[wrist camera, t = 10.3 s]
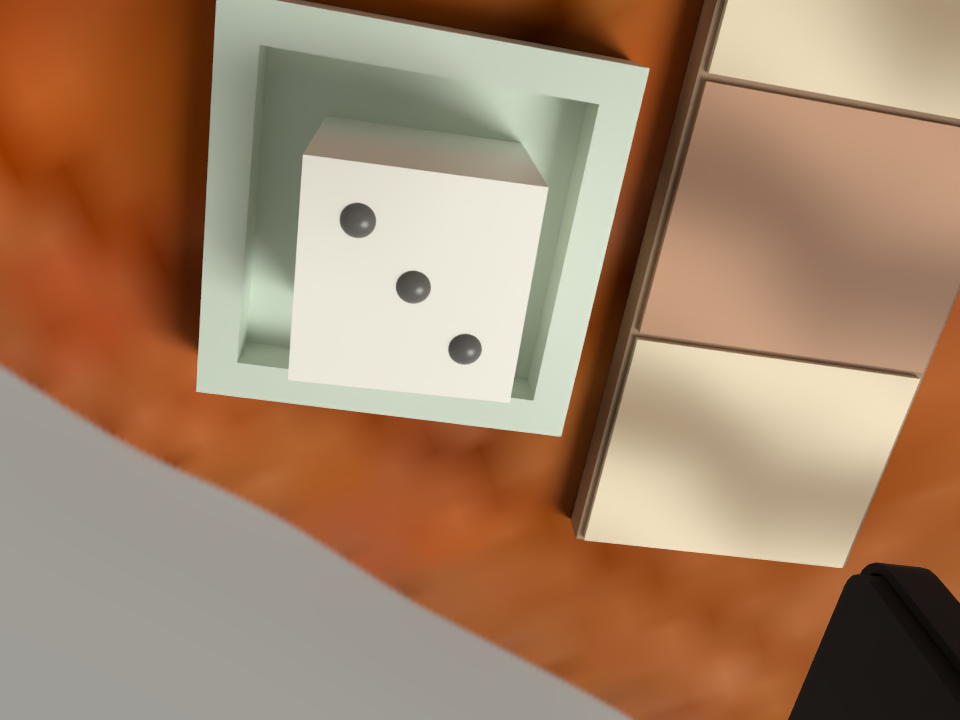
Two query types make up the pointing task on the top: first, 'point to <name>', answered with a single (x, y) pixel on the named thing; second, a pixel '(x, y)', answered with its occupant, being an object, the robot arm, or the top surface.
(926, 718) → the robot arm
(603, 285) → the top surface
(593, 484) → the track
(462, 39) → the tray
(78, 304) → the top surface
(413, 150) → the block
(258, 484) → the top surface
